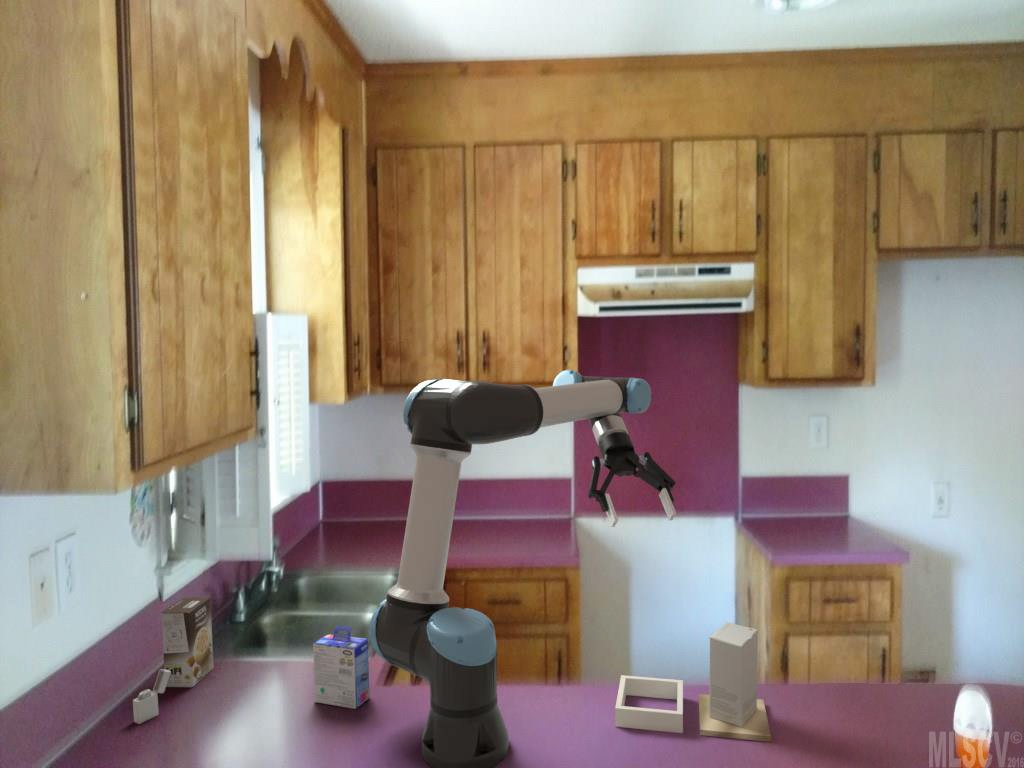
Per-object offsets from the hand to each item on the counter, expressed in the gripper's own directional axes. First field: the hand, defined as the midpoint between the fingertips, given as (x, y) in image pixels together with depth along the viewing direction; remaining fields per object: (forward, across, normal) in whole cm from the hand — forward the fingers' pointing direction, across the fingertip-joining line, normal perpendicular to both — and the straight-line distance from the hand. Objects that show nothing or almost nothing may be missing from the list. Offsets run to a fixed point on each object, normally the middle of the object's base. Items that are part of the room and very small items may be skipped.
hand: (644, 520), depth 157 cm
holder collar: (+35, +8, -10) cm, 37 cm away
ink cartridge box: (+18, +63, -27) cm, 71 cm away
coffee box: (+3, +94, -42) cm, 103 cm away
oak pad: (+40, -5, -4) cm, 41 cm away
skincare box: (+40, -5, -4) cm, 40 cm away
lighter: (+13, +99, -32) cm, 105 cm away
